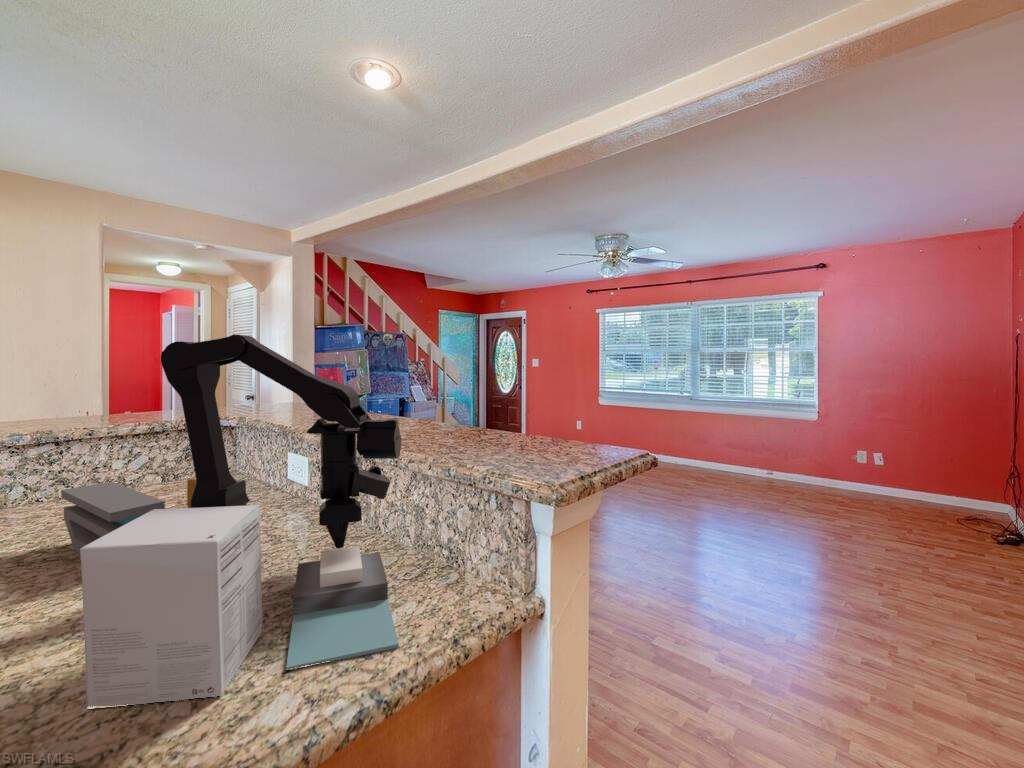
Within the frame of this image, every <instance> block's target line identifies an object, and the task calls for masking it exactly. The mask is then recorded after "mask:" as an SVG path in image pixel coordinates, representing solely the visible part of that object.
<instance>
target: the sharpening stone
mask: <svg viewBox="0 0 1024 768" xmlns="http://www.w3.org/2000/svg"><path fill="white" fill-rule="evenodd" d="M60 498H61V499H63V500H65V501H67V502H69V503H70V504H73V505H71V506H66V507H63V520H64V523H65V525H66V529H67V532H68V535H69V538H70V541H71V543H72V547H73V550H74V553H75V554H77V555H79V556H80V549H81V548H82V547H84V546H86V545H88V544H90V543H91V542H93V541H95V540H97V539H99V538H101V537H103V536H104V535H106V534H108V533H110V532H112V531H114V530H116V529H118V528H120V527H121V526H123V525H125V524H127V523H129V522H131V521H133V520H135V519H136V518H138V517H140V516H142V515H144V514H146V513H148V512H150V511H152V510H153V509H166V506H165V505H166V504H165V500H162V499H160V498H157V497H154V496H152V495H150V494H146V493H144V492H141V491H139V490H135V489H133V488H131V487H127V486H124V485H122V484H121V483H120V484H119V483H117V482H114V481H113V480H112V481H107V482H101V483H94V484H90V485H89V484H88V485H84V486H76V487H70V488H66V489H61V490H60Z"/></svg>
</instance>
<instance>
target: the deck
mask: <svg viewBox="0 0 1024 768" xmlns="http://www.w3.org/2000/svg"><path fill="white" fill-rule="evenodd" d="M360 556H361V562H362V577H363V581H358V582H352V583H346V584H339V585H333V586H327V587H320V560H313V561H307V562H300V563H298V564H297V570H296V576H295V583H294V590H293V596H292V604H293V605H292V608H293V609H292V612H293V613H292V614H293V615H299V614H304V613H310V612H316V611H321V610H327V609H333V608H339V607H344V606H350V605H356V604H361V603H367V602H373V601H379V600H384V599H388V600H389V597H388V595H389V594H388V593H389V592H388V591H389V588H388V585H389V583H388V579H387V575H386V572H385V568H384V567H385V566H384V564H383V560H382V556H381V552H379V551H378V552H372V553H365V554H360Z"/></svg>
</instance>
